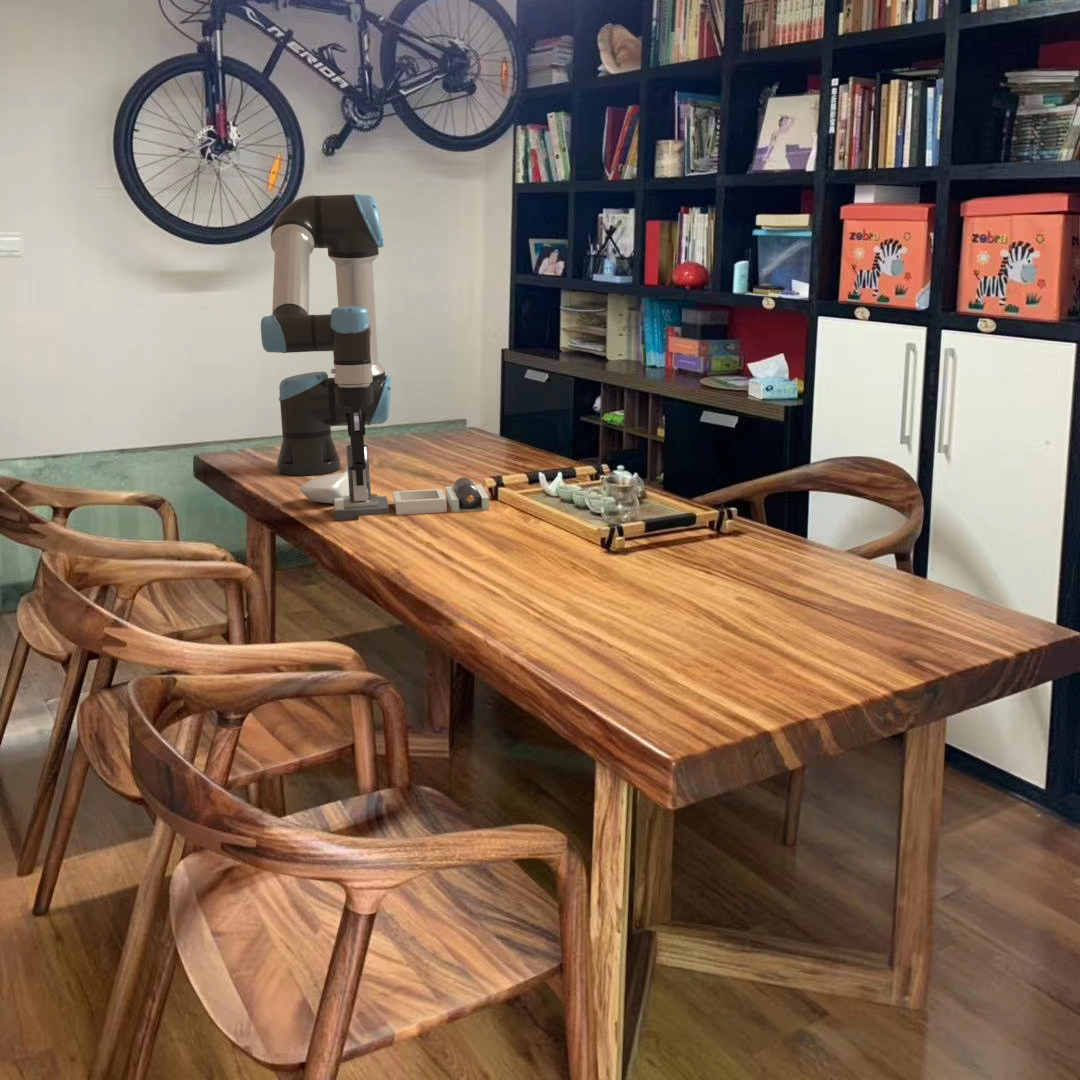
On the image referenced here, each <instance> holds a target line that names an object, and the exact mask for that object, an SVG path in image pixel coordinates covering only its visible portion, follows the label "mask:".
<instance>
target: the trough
mask: <svg viewBox="0 0 1080 1080" xmlns="http://www.w3.org/2000/svg"><path fill="white" fill-rule="evenodd" d="M474 485H475V487H476V489H477V490H478V492H479V494H480V497H481V500H480V503H479V505H478V506H477V507H476V508H473V509H466V508H464V507H463V506H462V505H461V504H460V502H459V499H458V497H457V495H456V493H455V491H454V486H453V485H452V486H451V485H449V486H445V497H446V502H447V504H448V505H449V508H450V510H451V512H452V513H460V512H475V511H476V512H477V511H478V512H479V511H490V497H489V496H488V494H487V492H486V491H485V489H484V487H483V485H482V484H474Z"/></svg>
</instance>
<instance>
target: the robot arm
mask: <svg viewBox="0 0 1080 1080" xmlns="http://www.w3.org/2000/svg"><path fill="white" fill-rule="evenodd" d="M271 227H272V228H271V232H270V246H271V249H272V251H273V253H274V262H273V266H274V267H273V287H272V309H271V310H272V313H271V314H270V315H268V316H267V315H266V316H265V315H264V316H263V317H262V318H261V320H260V337H261V338H260V339H261V344H262V347H263V350H264V351H265V352H267V353H277V354H278V353H281V354H286V353H289V354H291V353H307V352H309V353H310V352H312V353H313V352H332V353H333V356H332V357H333V365H334V366H333V367H334V368H332V369H331V370H330V373H331V374H333V375H334V377H329V374H328V373H327V371H314V372H312V371H311V372H306V373H301V374H296V375H291V376H289V377H286V378H284V379H283V380H281V382H280V383H279V387H278V388H279V398H278V401H279V403H280V405H279V406H280V418H281V420H280V421H281V434H282V435H281V436H282V442H281V447H280V450H279V453H278V457H277V461H276V462H277V464H276V465H277V472H278V473H279V474H282V475H288V476H314V475H315V476H316V475H324V474H329V473H330V474H331V473H333V472H337V471H339V470H340V469H341V459H340V456H339V453H338V450H337V448H336V445H335V443H334V440H333V437H332V429H331V428H332V427H342V426H343V427H344V426H345V427H346V426H347V432H348V433H347V434H348V436H349V439H350V445H352V461H353V464H352V467H349V470H352V475H353V491H354V501H366V500H367V483H366V464H365V453H364V445H365V440H364V439H365V437H364V436H365V435H366V426H371V425H381V424H382V425H383V424H384V423H386V422H387V421H388V419H389V415H390V406H391V405H390V404H391V389H392V376H391V375H388V374H386V370H385V369H386V368H385V367H384V366H383V365H381V363H380V362H379V356H378V355H379V352H378V341H377V340H378V338H377V337H378V336H377V323H376V321H377V319H376V318H377V317H376V304H375V303H376V301H375V299H376V298H375V285H374V284H375V282H374V281H375V280H374V266H373V263H374V261H375V260H376V259H377V257H379V254H380V253H379V248H383V247H384V246H385V240H384V233H383V229H382V228H383V227H382V222H381V216H380V211H379V206H378V202H377V200H376V198H375V197H374V196H373V195H370V194H369V195H368V194H354V193H353V194H329V195H327V194H326V195H313V194H311V195H306V196H303V197H300V198H297V199H295V200H294V201H293V202H291V203H289V204H288V205H287V206H285V207H284V208H283V210H282V211H281V212H280V213H279V214H278V215H277V217H276V219H275V221H274V223H273V226H271ZM314 249H327V257H328V258H329V259H330V260H332V262H333V263H334V265H335V278H336V279H335V280H336V292H337V293H336V294H337V307H334V308H332V309H331V310H330V314H329V313H328V314H310V259H311V258H310V256H311V254H312V253H313V251H314Z"/></svg>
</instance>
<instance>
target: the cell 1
mask: <svg viewBox="0 0 1080 1080" xmlns="http://www.w3.org/2000/svg"><path fill="white" fill-rule="evenodd" d="M345 450H346V465H347V467H348V483H349V499H350V500H351V501H354V491H353V475H352V470H349V467H352V464H353V461H352V445H351V444H350V445H347V446H346V447H345ZM364 453H365V464H366V483H367V500H370V499H371V492H372V491H371V474H370V473H371V472H370V457H369V455H370V454H369V445H368V444H364Z"/></svg>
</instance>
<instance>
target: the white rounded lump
mask: <svg viewBox="0 0 1080 1080" xmlns="http://www.w3.org/2000/svg"><path fill="white" fill-rule="evenodd" d="M344 468H345V469H344V471H343V472H340V473H333V474H326V475H322V476H318V477H315V478H314V477H313V478H312V479H309V480H308V481H306V482H305V483H303V484H302V485H301V486H300V487H299V490H300V492H301V493H302V495H304V496H305V497H306V498H307V499H309V500H311V501H312V502H315V503H321V504H333V505H334V498H343V496H349V483H348V467H347V464H345V467H344Z"/></svg>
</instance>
